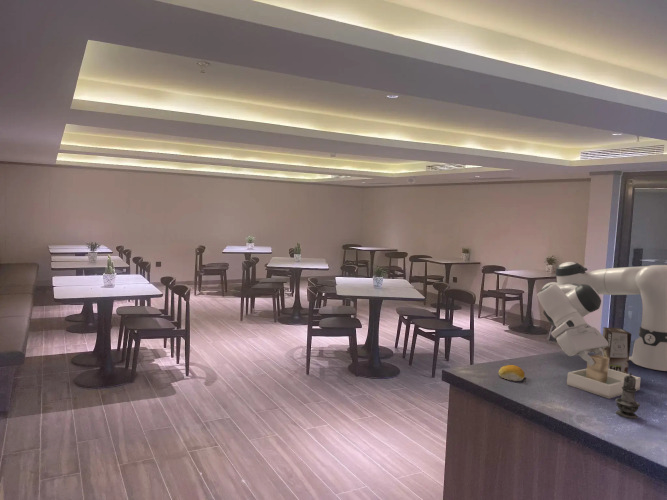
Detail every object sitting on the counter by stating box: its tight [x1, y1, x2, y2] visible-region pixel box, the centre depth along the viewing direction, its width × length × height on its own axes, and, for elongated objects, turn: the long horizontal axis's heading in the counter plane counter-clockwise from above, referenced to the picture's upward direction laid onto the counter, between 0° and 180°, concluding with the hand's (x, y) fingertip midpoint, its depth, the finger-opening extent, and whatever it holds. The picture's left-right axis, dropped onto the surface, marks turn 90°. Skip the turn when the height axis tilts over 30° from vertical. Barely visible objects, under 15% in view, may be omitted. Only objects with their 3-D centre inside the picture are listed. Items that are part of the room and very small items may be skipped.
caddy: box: [566, 367, 641, 400], centre depth 158 cm, size 18×14×4 cm
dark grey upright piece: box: [615, 372, 641, 420], centre depth 135 cm, size 6×6×12 cm
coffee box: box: [602, 326, 633, 374], centre depth 172 cm, size 9×6×16 cm
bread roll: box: [497, 364, 526, 382], centre depth 164 cm, size 8×9×4 cm
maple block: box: [586, 354, 609, 383], centre depth 155 cm, size 5×4×8 cm
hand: (598, 363), depth 155 cm, fingers closed on maple block, 5 cm apart
